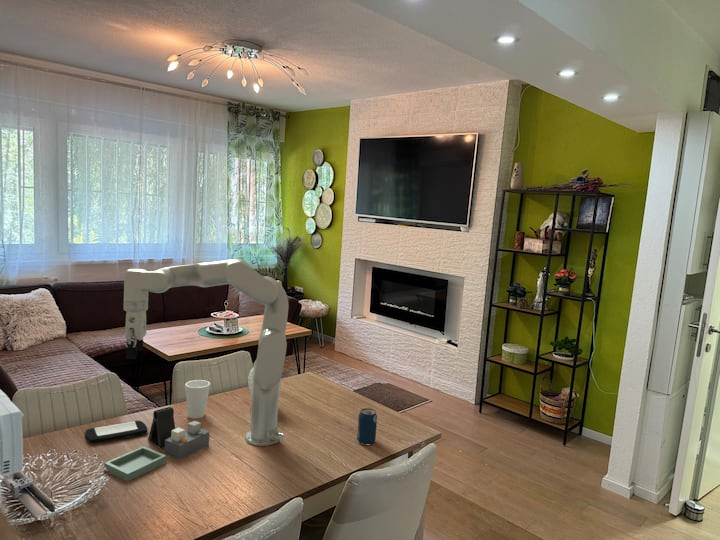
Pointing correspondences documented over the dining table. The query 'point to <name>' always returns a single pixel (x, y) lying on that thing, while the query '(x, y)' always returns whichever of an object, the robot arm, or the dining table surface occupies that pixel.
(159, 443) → the phone stand
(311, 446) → the dining table surface
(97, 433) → the light switch
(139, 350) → the robot arm
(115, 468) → the tray
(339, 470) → the dining table surface
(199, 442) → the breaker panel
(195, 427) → the block
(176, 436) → the block
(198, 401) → the foam cup
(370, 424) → the soda can
